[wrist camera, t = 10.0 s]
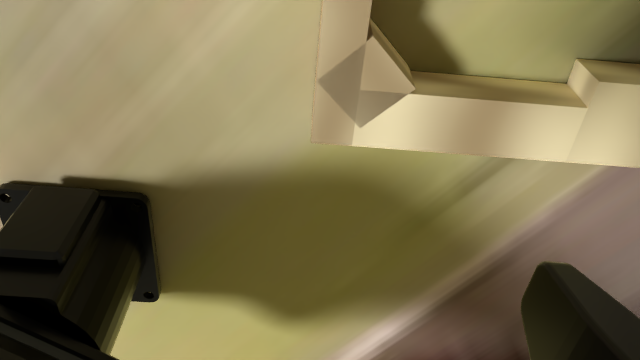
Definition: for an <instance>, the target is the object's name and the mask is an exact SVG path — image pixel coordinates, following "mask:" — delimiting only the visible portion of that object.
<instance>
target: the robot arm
mask: <svg viewBox="0 0 640 360" xmlns="http://www.w3.org/2000/svg"><path fill="white" fill-rule="evenodd" d="M6 194H8V195H9V196H10V197H8V196H7V195H6ZM134 203H138V204H140V205H141V206H136V205H135V204H134ZM0 218H1V221H2V224H3V227H2V228H1V230H0V360H119V359H117V358H115V357H113V356H111V355H110V353H111V351H112V348H113V346H114V343H115V341H116V338H117V336H118V333H119V330H120V328H121V325H122V323H123V320H124V318H125V315H126V313H127V310H128V307H129V305H130V302H131V301H137V302H155V301H157V300H158V299H159V296H160V293H161V286H160V278H159V270H158V262H157V254H156V246H155V238H154V230H153V222H152V214H151V206H150V201H149V199H148V198H147V197H146V196H145V195H143V194H141V193H136V192H122V191H108V190H94V189H82V188H68V187H54V186H40V185H24V184H10V183H5V184H2V185H0ZM150 292H151V293H150ZM521 314H522V320H523V325H524V330H525V335H526V340H527V345H528V350H529V355H530V360H640V318H638V317H637V316H636V315H635V314H633V313H632V312H631V311H629V310H628V309H627V308H626V307H624V306H623V305H622V304H621V303H619V302H618V301H617V300H615V299H614V298H613V297H612V296H610V295H609V294H608V293H606V292H605V291H604V290H603V289H601V288H600V287H599V286H597V285H596V284H595V283H594V282H592V281H591V280H590V279H589V278H587V277H586V276H585V275H583V274H582V273H581V272H580V271H578V270H577V269H576V268H574V267H573V266H572V265H570V264H568V263H562V262H550V261H545V262H541V263H540V264H539V265H538V266H537V268H536V269H535V272H534V274H533V276H532V278H531V280H530V282H529V285H528V287H527V289H526V291H525V293H524V295H523V298H522V302H521Z"/></svg>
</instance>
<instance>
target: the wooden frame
mask: <svg viewBox="0 0 640 360" xmlns="http://www.w3.org/2000/svg"><path fill="white" fill-rule="evenodd" d="M371 5H372V0H322V6H321V18H320V29H319V41H318V53H317V64H316V76H315V88H314V99H313V111H312V130H311V143H320V144H333V145H346V146H359V147H372V148H386V149H399V150H412V151H425V152H438V153H451V154H465V155H478V156H491V157H504V158H517V159H530V160H543V161H557V162H570V163H583V164H596V165H609V166H622V167H635V168H640V64H633V63H621V62H609V61H597V60H585V59H576V61H575V63H574V66H573V68H572V71H571V74H570V76H569V79H568V82H567V84H564V83H552V82H540V81H528V80H516V79H504V78H492V77H480V76H467V75H455V74H443V73H431V72H419V71H410V70H409V67H408V65H407V63H406V62H405V61H404V60H403V58H402V57H401V56H400V55H399V53H398V52H397V51H396V50H395V48H394V47H393V46H392V45H391V43H390V42H389V41H388V39H387V38H386V37H385V36H384V34H383V33H382V32H381V31H380V29H379V28H378V27H377V26H376V24H375V23H374V22H373V21H372V19H371V18H370V12H371Z"/></svg>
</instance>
